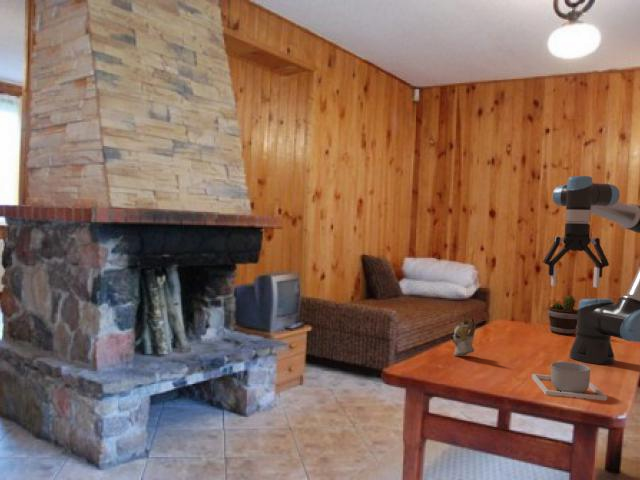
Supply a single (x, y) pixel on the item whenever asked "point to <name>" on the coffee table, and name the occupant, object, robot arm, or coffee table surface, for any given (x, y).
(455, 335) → the ceramic sculpture
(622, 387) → the coffee table surface
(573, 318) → the flowerpot
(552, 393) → the grey square frame
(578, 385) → the teacup
